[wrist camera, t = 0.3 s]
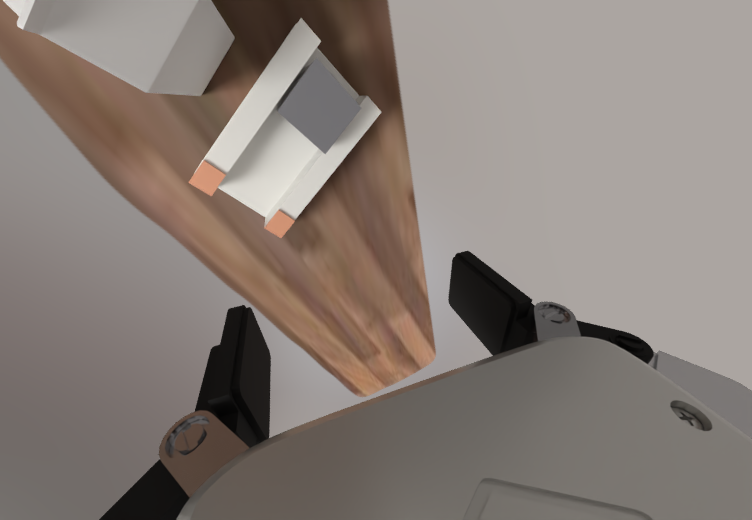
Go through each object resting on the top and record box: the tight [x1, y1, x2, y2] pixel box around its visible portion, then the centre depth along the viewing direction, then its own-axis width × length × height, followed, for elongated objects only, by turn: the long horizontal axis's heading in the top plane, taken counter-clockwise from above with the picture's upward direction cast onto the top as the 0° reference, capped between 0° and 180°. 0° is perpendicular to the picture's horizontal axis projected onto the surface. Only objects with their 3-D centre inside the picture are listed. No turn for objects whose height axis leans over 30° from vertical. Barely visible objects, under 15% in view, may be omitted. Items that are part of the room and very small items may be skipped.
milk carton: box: [3, 0, 235, 96], centre depth 19 cm, size 7×7×19 cm
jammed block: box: [277, 58, 361, 154], centre depth 29 cm, size 6×6×7 cm
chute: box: [188, 18, 381, 238], centre depth 32 cm, size 20×12×5 cm, turn 137°
